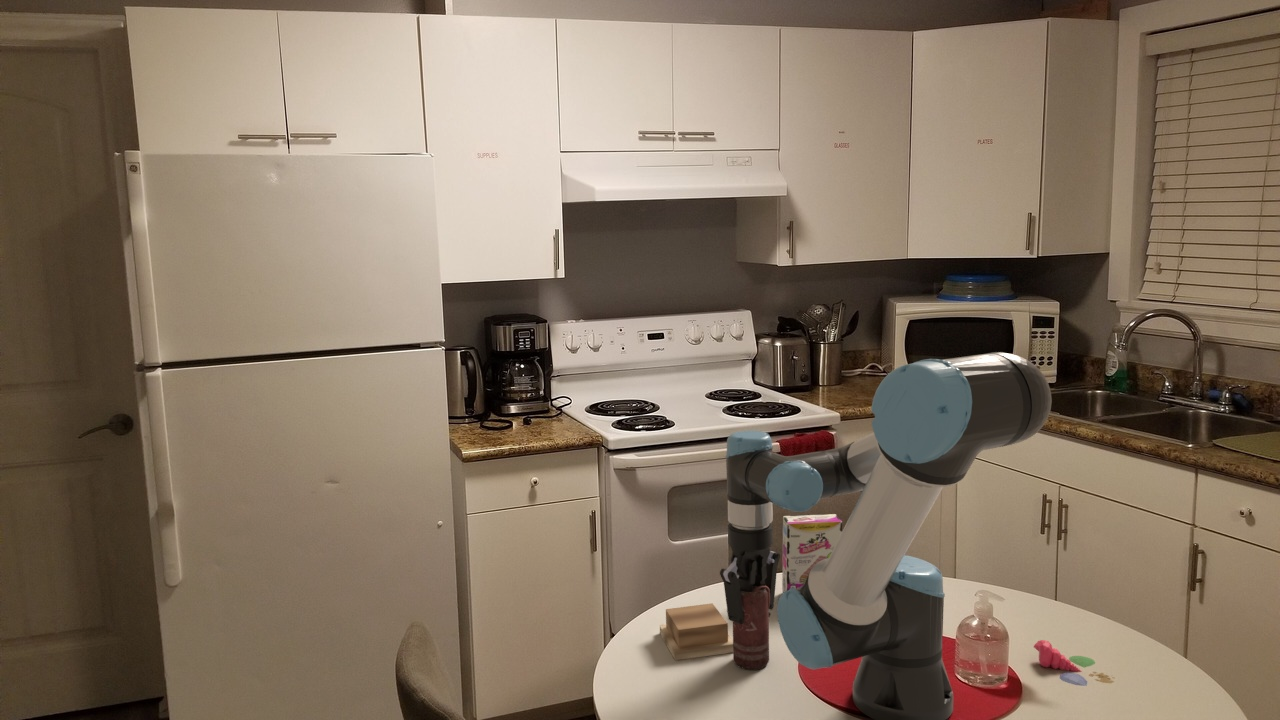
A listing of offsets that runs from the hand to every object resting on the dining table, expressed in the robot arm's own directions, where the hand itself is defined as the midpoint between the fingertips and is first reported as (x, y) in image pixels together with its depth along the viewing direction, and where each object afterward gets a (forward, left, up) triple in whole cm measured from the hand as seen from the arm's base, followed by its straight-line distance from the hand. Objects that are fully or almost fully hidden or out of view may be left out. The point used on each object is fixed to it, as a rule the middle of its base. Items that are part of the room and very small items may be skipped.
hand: (751, 654), depth 158 cm
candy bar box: (+23, -21, -2) cm, 31 cm away
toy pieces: (-18, -50, -2) cm, 53 cm away
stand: (+10, +7, -1) cm, 12 cm away
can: (0, 0, -2) cm, 2 cm away
